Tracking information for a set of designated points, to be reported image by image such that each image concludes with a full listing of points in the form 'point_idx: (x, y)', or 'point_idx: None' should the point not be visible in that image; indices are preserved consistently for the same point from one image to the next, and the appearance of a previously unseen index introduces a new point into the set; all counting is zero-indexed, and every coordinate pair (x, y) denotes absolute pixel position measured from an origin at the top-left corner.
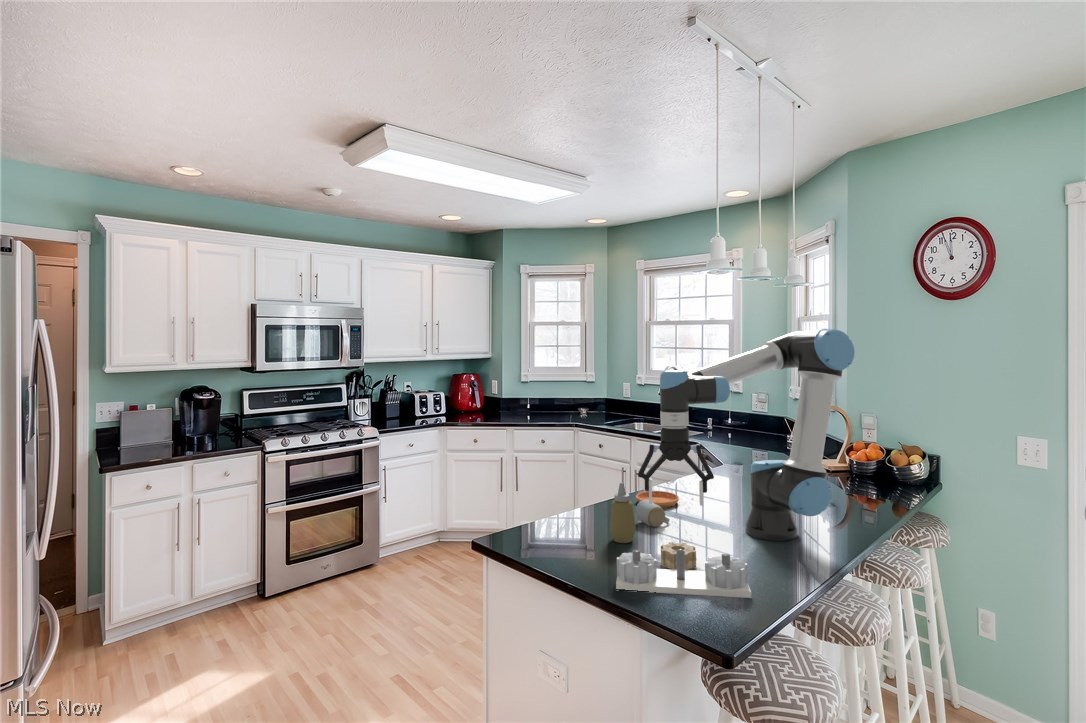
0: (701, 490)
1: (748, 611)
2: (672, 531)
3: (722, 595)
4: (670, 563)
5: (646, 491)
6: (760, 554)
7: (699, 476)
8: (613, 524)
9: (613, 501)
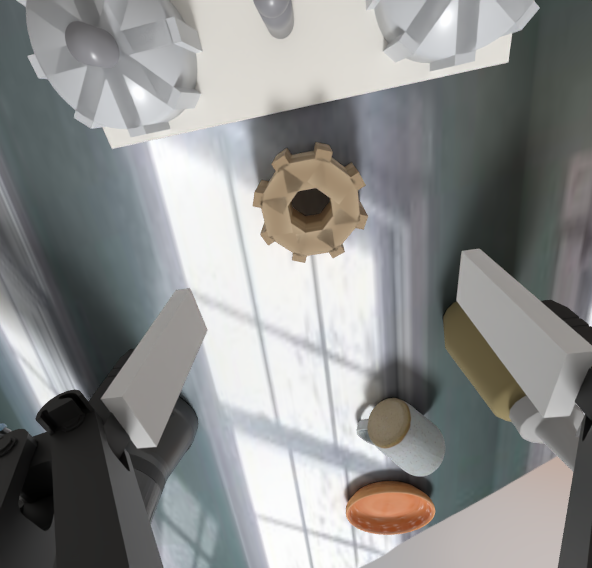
0: (145, 345)
1: None
2: (345, 388)
3: None
4: (328, 147)
5: (413, 530)
6: (134, 314)
7: (100, 440)
8: None
9: None
